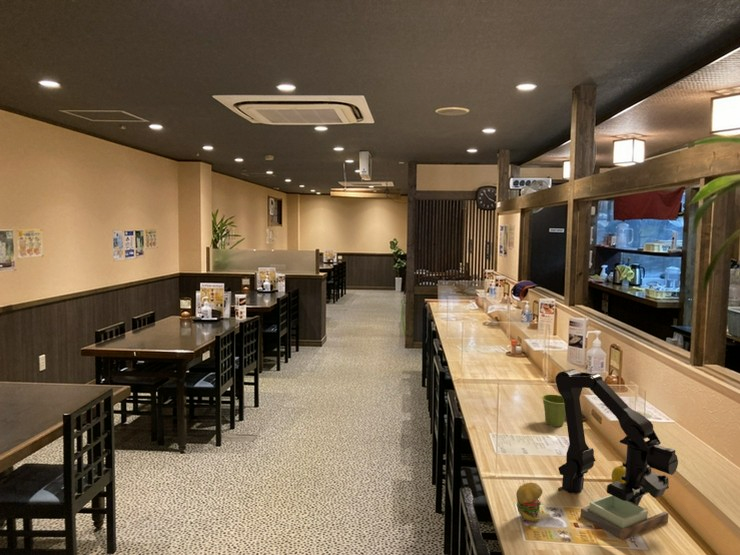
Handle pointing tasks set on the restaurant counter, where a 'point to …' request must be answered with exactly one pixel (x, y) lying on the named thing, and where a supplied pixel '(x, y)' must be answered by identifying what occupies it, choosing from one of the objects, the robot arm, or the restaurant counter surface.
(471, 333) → the restaurant counter surface
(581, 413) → the robot arm
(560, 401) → the plant pot
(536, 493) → the hamburger
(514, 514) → the restaurant counter surface
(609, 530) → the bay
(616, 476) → the lemon
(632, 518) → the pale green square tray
